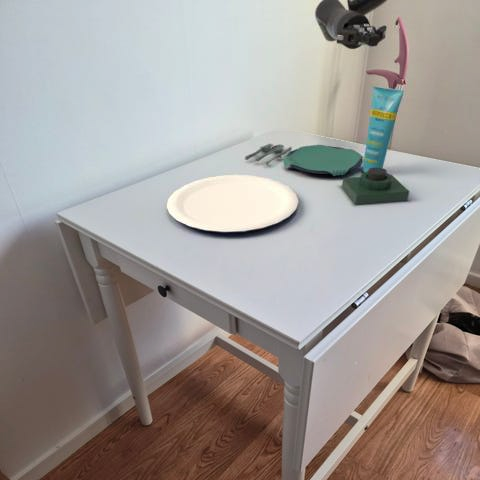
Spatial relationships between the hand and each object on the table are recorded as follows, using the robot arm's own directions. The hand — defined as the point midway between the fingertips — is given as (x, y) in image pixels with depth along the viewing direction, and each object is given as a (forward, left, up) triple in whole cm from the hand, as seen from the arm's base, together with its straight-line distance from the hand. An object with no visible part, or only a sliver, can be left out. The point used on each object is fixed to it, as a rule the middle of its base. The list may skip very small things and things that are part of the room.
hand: (374, 41), depth 97 cm
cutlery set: (+14, -1, -27) cm, 31 cm away
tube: (-1, +9, -27) cm, 29 cm away
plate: (+36, +23, -27) cm, 51 cm away
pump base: (+3, +22, -27) cm, 35 cm away
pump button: (+3, +22, -24) cm, 32 cm away
